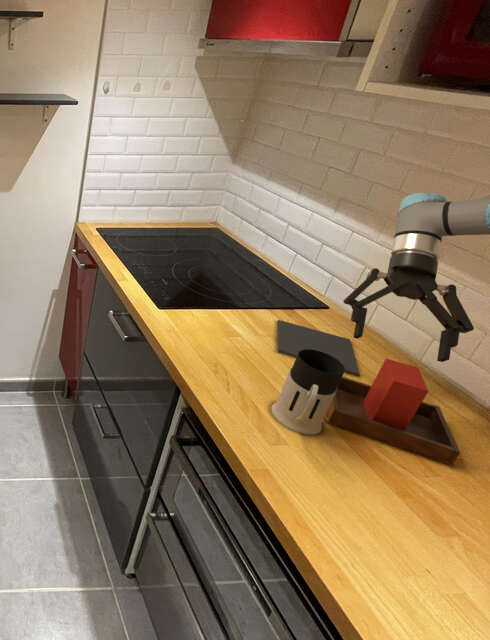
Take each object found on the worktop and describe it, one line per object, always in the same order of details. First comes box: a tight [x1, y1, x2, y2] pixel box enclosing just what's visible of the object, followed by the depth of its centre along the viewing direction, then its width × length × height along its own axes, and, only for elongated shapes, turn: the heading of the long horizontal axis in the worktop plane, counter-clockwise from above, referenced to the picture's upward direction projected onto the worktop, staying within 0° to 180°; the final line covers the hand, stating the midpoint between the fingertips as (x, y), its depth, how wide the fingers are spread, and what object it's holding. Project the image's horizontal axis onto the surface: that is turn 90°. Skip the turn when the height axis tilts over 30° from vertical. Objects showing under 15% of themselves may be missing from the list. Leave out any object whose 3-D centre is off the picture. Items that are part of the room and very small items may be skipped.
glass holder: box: [270, 349, 346, 435], centre depth 89 cm, size 9×14×15 cm, turn 140°
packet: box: [363, 358, 429, 431], centre depth 91 cm, size 5×8×12 cm, turn 147°
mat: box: [276, 319, 359, 377], centre depth 116 cm, size 16×16×1 cm
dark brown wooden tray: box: [326, 376, 461, 467], centre depth 93 cm, size 19×14×4 cm
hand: (398, 348), depth 94 cm, fingers open, 13 cm apart
